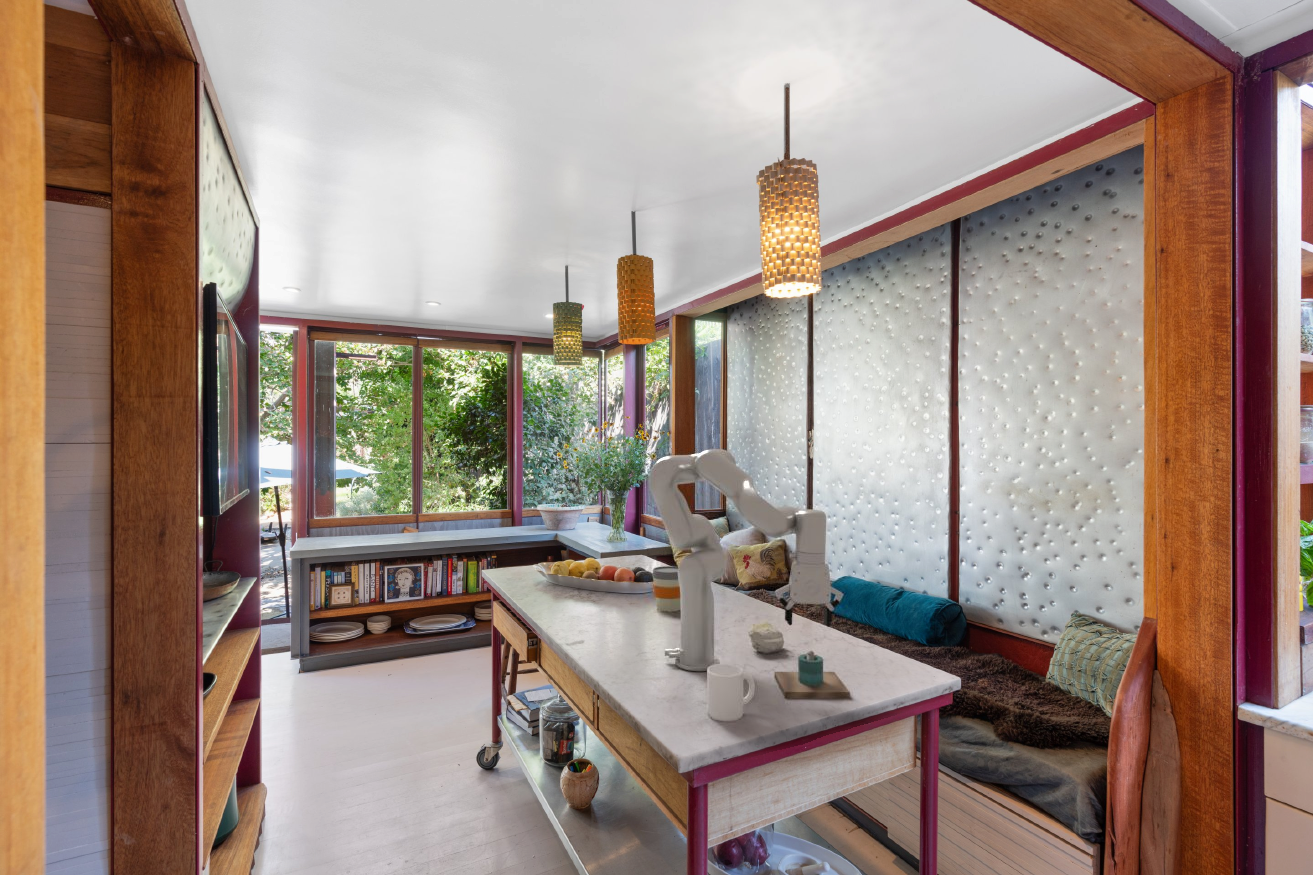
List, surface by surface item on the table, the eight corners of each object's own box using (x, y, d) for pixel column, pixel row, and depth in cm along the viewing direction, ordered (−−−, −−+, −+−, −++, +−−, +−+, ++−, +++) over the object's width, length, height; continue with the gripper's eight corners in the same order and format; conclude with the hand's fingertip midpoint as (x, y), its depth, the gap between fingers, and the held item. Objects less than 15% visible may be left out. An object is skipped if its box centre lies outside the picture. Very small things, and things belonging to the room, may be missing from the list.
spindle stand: (784, 697, 156) (784, 659, 156) (774, 677, 170) (774, 641, 170) (849, 698, 156) (849, 659, 156) (834, 677, 170) (834, 642, 170)
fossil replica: (790, 649, 194) (760, 646, 199) (789, 621, 195) (758, 619, 200) (776, 657, 184) (744, 654, 189) (775, 627, 185) (743, 625, 190)
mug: (745, 702, 153) (745, 659, 153) (764, 716, 146) (764, 671, 146) (701, 710, 149) (701, 666, 149) (717, 724, 141) (717, 678, 141)
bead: (801, 685, 160) (801, 661, 160) (796, 677, 166) (796, 654, 166) (825, 685, 160) (825, 661, 160) (819, 677, 166) (819, 654, 166)
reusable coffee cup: (691, 607, 243) (691, 568, 243) (674, 614, 232) (674, 573, 233) (663, 603, 250) (663, 564, 250) (645, 610, 239) (645, 570, 239)
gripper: (779, 559, 160) (777, 627, 160) (848, 561, 160) (845, 629, 160) (773, 554, 167) (771, 619, 167) (839, 556, 167) (837, 621, 167)
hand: (808, 624), depth 164 cm, fingers open, 9 cm apart
